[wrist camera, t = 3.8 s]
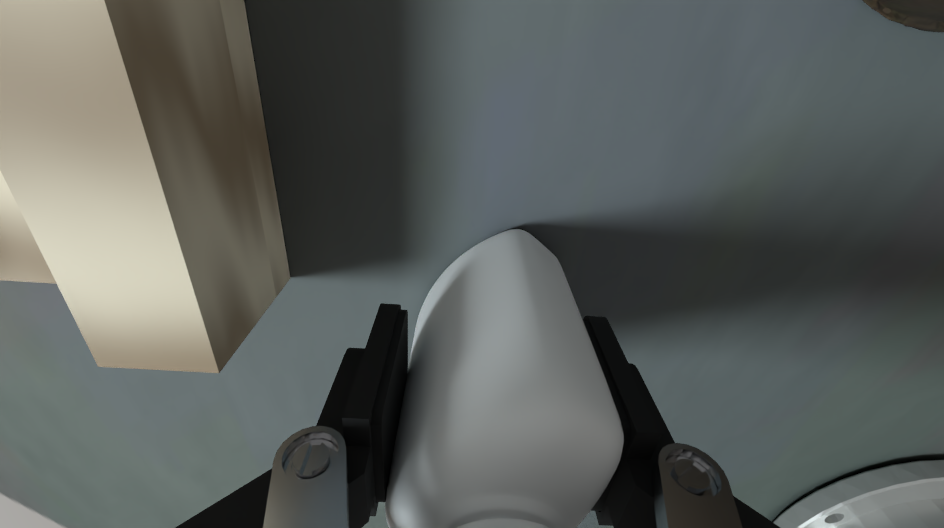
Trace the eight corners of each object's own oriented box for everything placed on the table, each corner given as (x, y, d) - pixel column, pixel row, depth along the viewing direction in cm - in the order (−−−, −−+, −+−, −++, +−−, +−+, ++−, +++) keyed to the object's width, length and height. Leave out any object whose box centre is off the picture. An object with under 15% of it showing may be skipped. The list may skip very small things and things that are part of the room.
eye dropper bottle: (573, 315, 15) (793, 912, 5) (434, 352, 16) (369, 925, 6) (546, 213, 13) (825, 862, 3) (389, 261, 14) (161, 895, 4)
